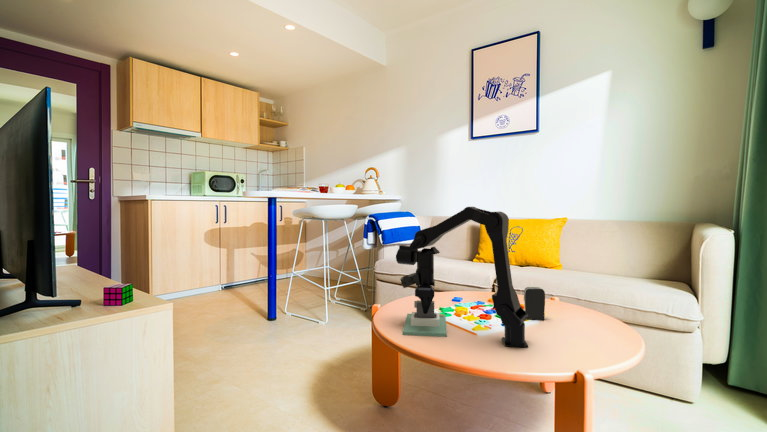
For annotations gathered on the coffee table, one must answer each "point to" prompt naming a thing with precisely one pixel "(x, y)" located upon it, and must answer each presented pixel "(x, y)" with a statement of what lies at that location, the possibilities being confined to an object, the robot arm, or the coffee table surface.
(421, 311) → the plug
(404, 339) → the coffee table surface
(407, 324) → the board
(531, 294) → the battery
